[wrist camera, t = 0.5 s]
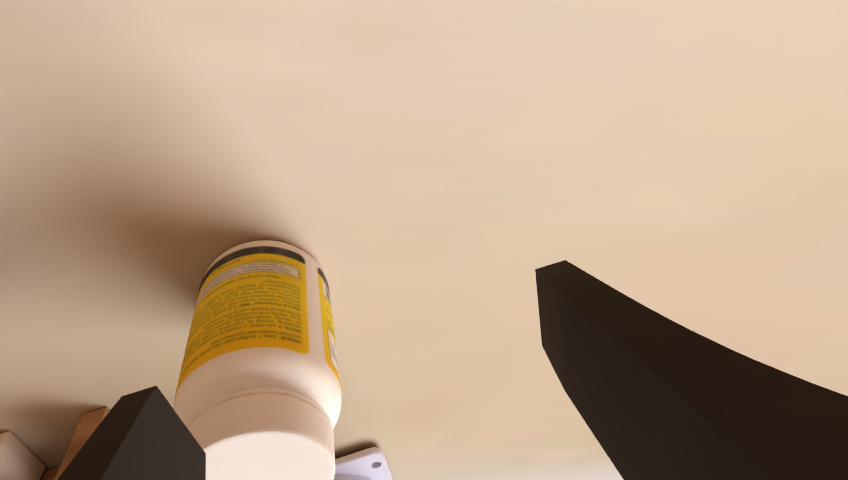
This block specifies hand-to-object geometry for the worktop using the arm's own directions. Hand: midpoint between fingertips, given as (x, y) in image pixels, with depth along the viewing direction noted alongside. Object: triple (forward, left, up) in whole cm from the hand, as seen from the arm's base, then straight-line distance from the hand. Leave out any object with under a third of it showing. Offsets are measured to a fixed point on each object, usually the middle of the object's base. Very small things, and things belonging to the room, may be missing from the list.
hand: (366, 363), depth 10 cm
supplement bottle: (-4, +4, -10) cm, 12 cm away
